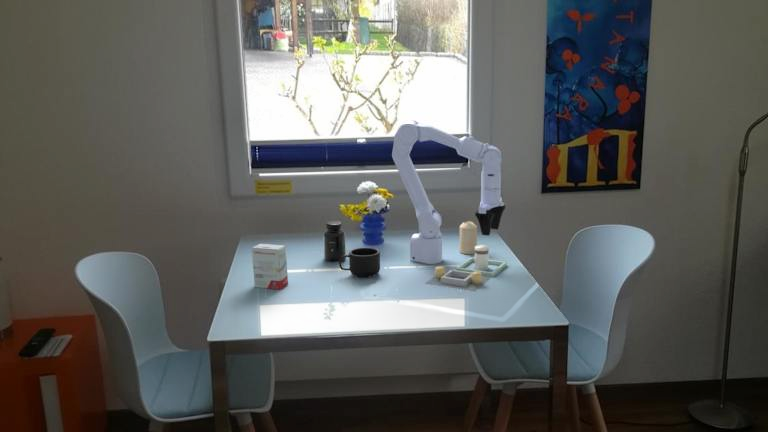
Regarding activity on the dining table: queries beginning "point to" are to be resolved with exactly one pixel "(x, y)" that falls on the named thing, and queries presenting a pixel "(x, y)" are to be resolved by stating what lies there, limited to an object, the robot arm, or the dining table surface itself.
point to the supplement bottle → (334, 242)
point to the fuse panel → (458, 279)
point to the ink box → (270, 266)
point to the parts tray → (484, 273)
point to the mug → (363, 262)
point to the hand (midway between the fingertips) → (490, 231)
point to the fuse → (481, 257)
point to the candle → (468, 237)
